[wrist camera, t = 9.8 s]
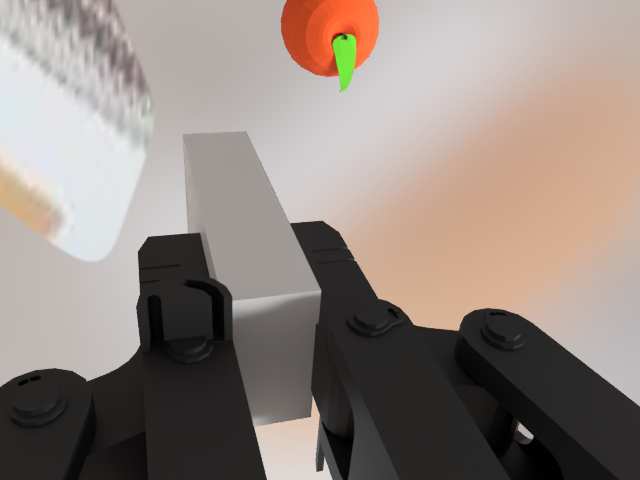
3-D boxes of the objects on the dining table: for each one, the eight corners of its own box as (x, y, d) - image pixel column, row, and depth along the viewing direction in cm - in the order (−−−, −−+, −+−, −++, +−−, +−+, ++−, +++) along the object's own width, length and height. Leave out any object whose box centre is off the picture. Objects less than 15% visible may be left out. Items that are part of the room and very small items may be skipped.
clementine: (364, 65, 49) (398, 93, 43) (281, 83, 48) (304, 114, 42) (356, -43, 44) (392, -28, 38) (264, -26, 43) (287, -8, 37)
